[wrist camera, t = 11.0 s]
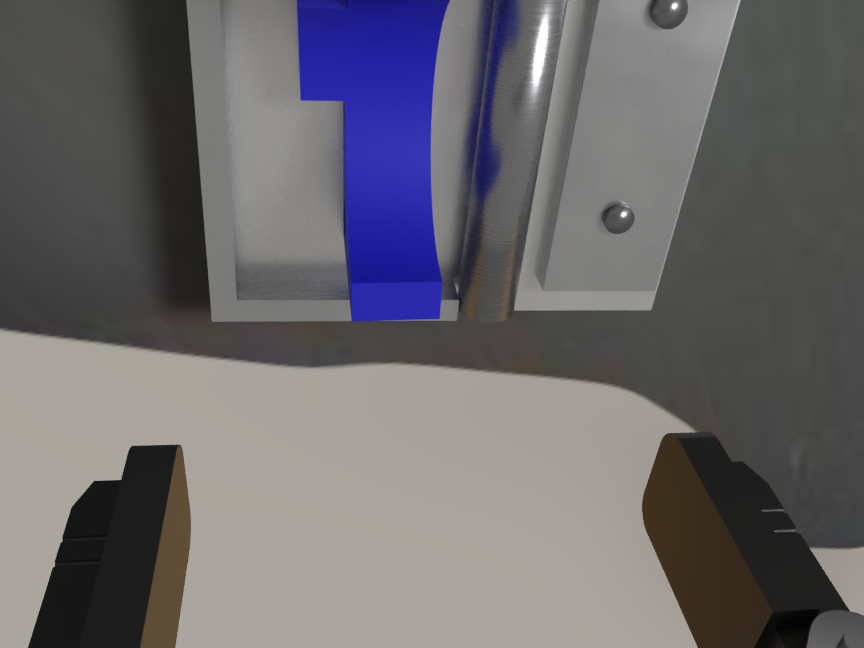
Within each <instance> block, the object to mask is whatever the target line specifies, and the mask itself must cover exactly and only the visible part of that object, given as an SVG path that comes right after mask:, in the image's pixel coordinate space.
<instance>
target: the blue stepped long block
mask: <svg viewBox="0 0 864 648" xmlns="http://www.w3.org/2000/svg"><path fill="white" fill-rule="evenodd" d="M449 2H450V0H297V19H298V43H299V71H300V100H301V101H343V223H344V246H345V257H346V267H347V278H348V288H349V299H350V309H351V320H352V321H383V320H420V319H440V308H441V295H442V282H443V281H442V277H441V273H440V268H439V263H438V257H437V251H436V243H435V234H434V224H433V211H432V192H431V120H432V101H433V87H434V76H435V66H436V58H437V51H438V44H439V39H440V33H441V28H442V24H443V20H444V16H445V12H446V9H447V6H448V4H449Z"/></svg>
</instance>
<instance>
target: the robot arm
mask: <svg viewBox="0 0 864 648" xmlns="http://www.w3.org/2000/svg"><path fill="white" fill-rule="evenodd" d="M783 509H784V508H783V506H782V505H781V503H780V502H779V500H778V498H777V497H776V495H775V494H774V492H773V491H772V489H771V488H770V486H769V484H768V483H767V482H766V481H765V480H763V479H762V478H761V477H760V476H759V475H758V474H756V473H755V472H754V471H753V470H752V469H751V468H749V467H748V466H747V465H746V464H745V463H744V462H732V461H731V460H730V458H729V457H728V455H727V453H726V452H725V450H724V448H723V447H722V445H721V443H720V442H719V440H718V439H717V437H716V436H715V435H714V434H712V433H710V432H699V433H668V434H666V435H665V436H664V437H663V439H662V441H661V443H660V447H659V450H658V452H657V456H656V459H655V462H654V465H653V468H652V471H651V474H650V477H649V480H648V483H647V486H646V489H645V492H644V495H643V503H642V512H643V520H644V525H645V528H646V531H647V534H648V536H649V538H650V540H651V543H652V545H653V547H654V549H655V552H656V554H657V556H658V558H659V560H660V563H661V565H662V567H663V570H664V572H665V574H666V576H667V579H668V581H669V583H670V586H671V588H672V590H673V592H674V595H675V597H676V599H677V601H678V603H679V606H680V608H681V610H682V613H683V615H684V617H685V619H686V621H687V624H688V626H689V628H690V631H691V633H692V635H693V637H694V639H695V642H696V644H697V646H698V648H864V616H863V615H860V614H858V613H854V612H850V610H849V609H848V608H847V607H846V605H845V603H844V602H843V600H842V599H841V597H840V595H839V594H838V592H837V591H836V589H835V588H834V586H833V584H832V583H831V581H830V580H829V578H828V577H827V575H826V574H825V572H824V570H823V569H822V567H821V566H820V564H819V563H818V561H817V560H816V558H815V556H814V555H813V553H812V552H811V550H810V548H809V547H808V545H807V544H806V542H805V541H804V539H803V538H802V536H801V534H797V532H796V529H797V528H796V527H795V525H794V523H793V522H792V520H791V519H790V517H789V516H788V514H787V513H784V511H783ZM190 518H191V517H190V506H189V498H188V490H187V481H186V474H185V465H184V457H183V451H182V447H181V445H154V446H153V445H152V446H132V447H131V448H130V450H129V452H128V456H127V460H126V464H125V467H124V471H123V476H122V480H115V481H94V482H93V483H92V484H91V485H90V487H89V488H88V489H87V490H86V491H85V493H84V494H83V495H82V496H81V497H80V499H78V501H77V502H76V503H75V504H74V505H73V507H72V508H71V511H70V515H69V518H68V521H67V524H66V528H65V531H64V534H63V541H62V543H61V544H60V547H59V550H58V553H57V557H56V560H55V567H54V568H53V569H52V573H51V576H50V579H49V582H48V586H47V589H46V592H45V595H44V598H43V601H42V605H41V608H40V611H39V614H38V617H37V621H36V624H35V627H34V630H33V634H32V637H31V640H30V643H29V647H28V648H175V645H176V638H177V631H178V623H179V618H180V610H181V604H182V597H183V589H184V583H185V576H186V569H187V563H188V556H189V548H190V534H191V519H190Z"/></svg>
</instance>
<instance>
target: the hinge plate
mask: <svg viewBox="0 0 864 648" xmlns="http://www.w3.org/2000/svg"><path fill="white" fill-rule="evenodd" d="M186 3H187V16H188V28H189V41H190V53H191V66H192V78H193V91H194V103H195V116H196V128H197V141H198V153H199V166H200V178H201V191H202V203H203V216H204V228H205V241H206V253H207V266H208V278H209V291H210V303H211V316H212V322H223V321H352V320H351V309H350V299H349V288H348V278H347V267H346V257H345V246H344V223H343V101H301V100H300V71H299V43H298V19H297V0H186ZM739 3H740V0H450V2H449V4H448V6H447V9H446V12H445V16H444V20H443V24H442V28H441V33H440V39H439V44H438V51H437V58H436V66H435V76H434V87H433V101H432V120H431V192H432V211H433V224H434V234H435V243H436V251H437V257H438V263H439V268H440V273H441V277H442V281H443V282H442V295H441V308H440V319H420V320H383V321H457V315H458V311H460V312H461V313H462V314H463V315H465V316H466V317H468V318H470V319H472V320H475V321H479V322H486V323H496V322H501V321H504V320H507V319H508V318H510V317H511V316H512V315H513V313H514V310H651V309H652V305H653V302H654V298H655V295H656V291H657V288H658V285H659V281H660V278H661V274H662V271H663V267H664V264H665V260H666V257H667V253H668V250H669V246H670V243H671V239H672V236H673V232H674V229H675V226H676V222H677V219H678V215H679V212H680V208H681V205H682V201H683V198H684V194H685V191H686V187H687V184H688V180H689V177H690V173H691V170H692V166H693V163H694V160H695V156H696V153H697V149H698V146H699V142H700V139H701V135H702V132H703V128H704V125H705V121H706V118H707V114H708V111H709V107H710V104H711V100H712V97H713V94H714V90H715V87H716V83H717V80H718V76H719V73H720V69H721V66H722V62H723V59H724V55H725V52H726V48H727V45H728V41H729V38H730V34H731V31H732V28H733V24H734V21H735V17H736V14H737V10H738V7H739Z"/></svg>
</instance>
